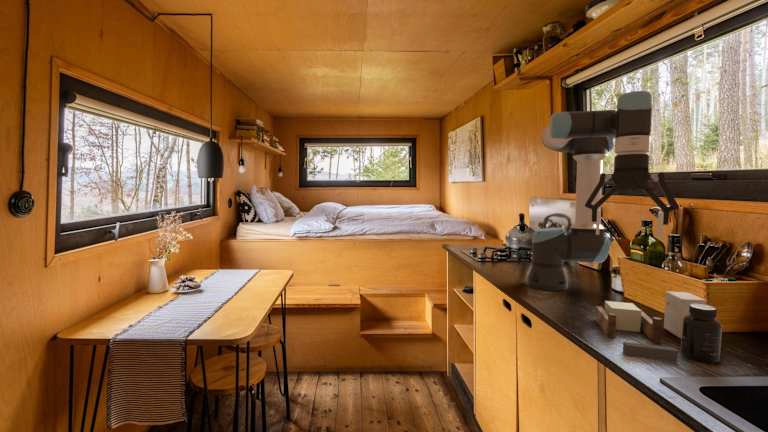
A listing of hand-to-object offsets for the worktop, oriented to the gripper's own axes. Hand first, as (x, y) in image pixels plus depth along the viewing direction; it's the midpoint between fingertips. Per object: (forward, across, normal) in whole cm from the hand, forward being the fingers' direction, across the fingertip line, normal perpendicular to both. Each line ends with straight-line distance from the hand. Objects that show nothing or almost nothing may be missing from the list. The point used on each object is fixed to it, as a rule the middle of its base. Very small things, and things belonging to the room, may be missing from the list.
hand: (627, 236), depth 96 cm
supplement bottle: (+26, +14, -8) cm, 31 cm away
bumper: (+26, +4, -14) cm, 30 cm away
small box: (+26, +14, +8) cm, 31 cm away
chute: (+26, +1, +3) cm, 26 cm away
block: (+26, 0, +6) cm, 27 cm away
